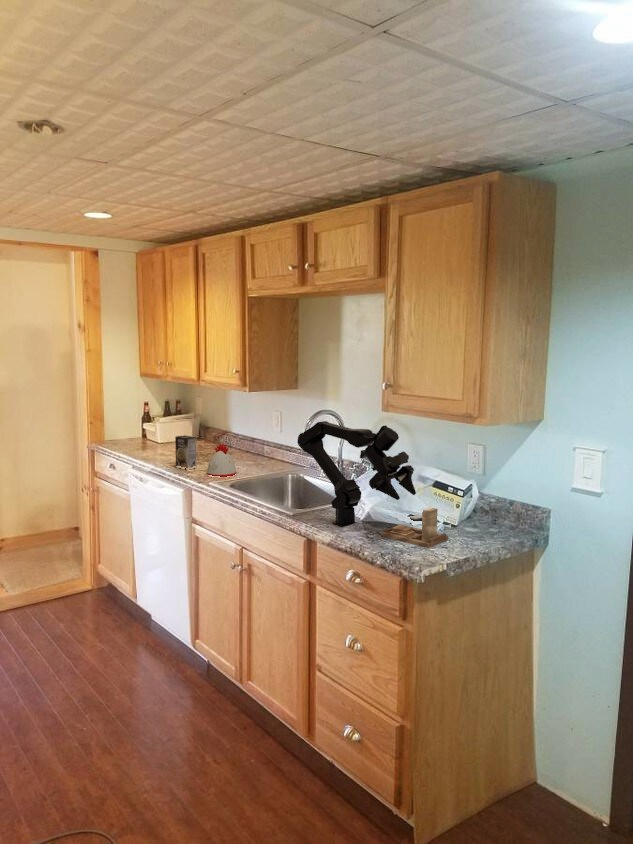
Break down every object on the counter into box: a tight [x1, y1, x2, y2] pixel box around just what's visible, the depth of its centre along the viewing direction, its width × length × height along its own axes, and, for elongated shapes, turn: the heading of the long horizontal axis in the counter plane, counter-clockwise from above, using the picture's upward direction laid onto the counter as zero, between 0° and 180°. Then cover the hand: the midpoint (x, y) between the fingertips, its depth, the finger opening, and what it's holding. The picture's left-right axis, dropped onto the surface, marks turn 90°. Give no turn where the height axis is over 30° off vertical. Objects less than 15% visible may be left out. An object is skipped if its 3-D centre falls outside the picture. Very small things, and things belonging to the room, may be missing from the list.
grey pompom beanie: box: [206, 443, 237, 477], centre depth 311 cm, size 14×14×15 cm
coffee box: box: [174, 434, 197, 468], centre depth 326 cm, size 9×6×16 cm
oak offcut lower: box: [390, 531, 415, 538], centre depth 213 cm, size 6×6×1 cm
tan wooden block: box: [421, 506, 438, 542], centre depth 206 cm, size 3×4×10 cm
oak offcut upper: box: [391, 524, 412, 534], centre depth 213 cm, size 5×4×1 cm
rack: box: [380, 524, 449, 549], centre depth 210 cm, size 18×12×3 cm, turn 48°
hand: (407, 496), depth 211 cm, fingers open, 9 cm apart
